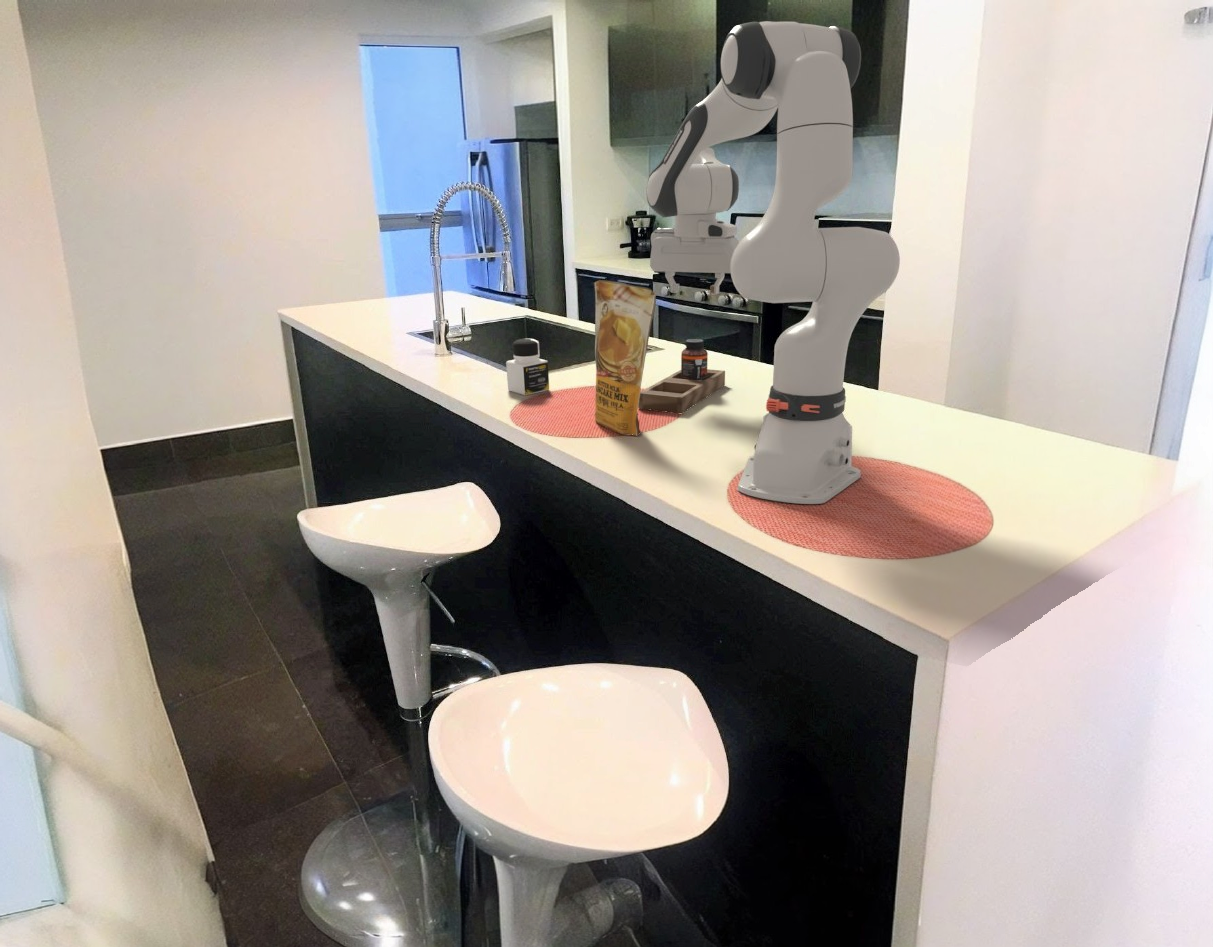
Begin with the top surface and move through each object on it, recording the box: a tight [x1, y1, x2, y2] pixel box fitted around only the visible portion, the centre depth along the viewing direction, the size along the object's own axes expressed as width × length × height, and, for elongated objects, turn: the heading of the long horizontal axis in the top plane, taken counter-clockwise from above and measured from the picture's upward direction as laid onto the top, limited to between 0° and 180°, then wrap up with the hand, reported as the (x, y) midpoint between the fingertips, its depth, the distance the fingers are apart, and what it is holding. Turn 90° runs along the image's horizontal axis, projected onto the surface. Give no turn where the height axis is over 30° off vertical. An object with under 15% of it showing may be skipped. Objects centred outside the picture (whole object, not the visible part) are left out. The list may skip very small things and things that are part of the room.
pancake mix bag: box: [593, 279, 657, 437], centre depth 162 cm, size 7×19×28 cm, turn 29°
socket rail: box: [638, 368, 726, 414], centre depth 186 cm, size 26×10×4 cm, turn 152°
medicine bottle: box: [505, 338, 550, 396], centre depth 194 cm, size 7×7×12 cm
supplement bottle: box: [680, 338, 709, 381], centre depth 189 cm, size 6×6×11 cm
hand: (694, 293), depth 184 cm, fingers open, 8 cm apart
